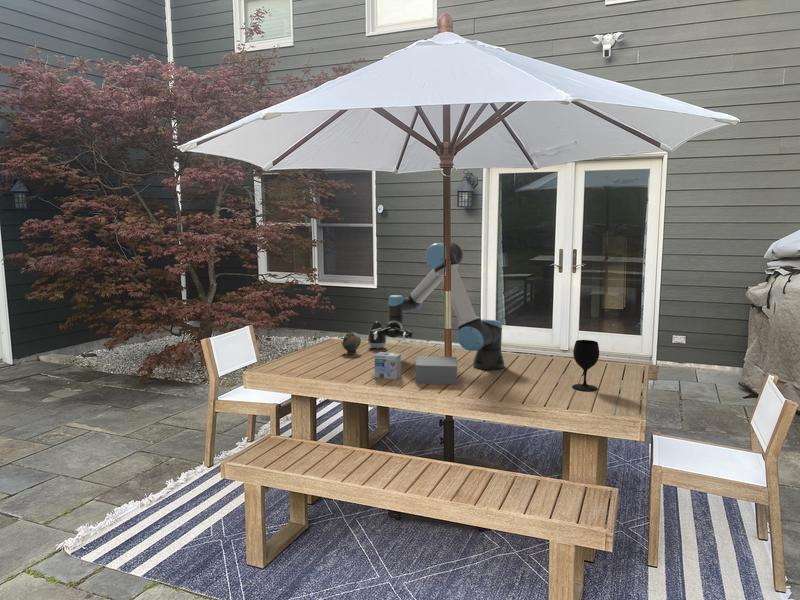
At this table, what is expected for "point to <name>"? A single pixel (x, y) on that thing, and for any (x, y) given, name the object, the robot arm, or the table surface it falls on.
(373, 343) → the black tapered dome
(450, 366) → the grey block
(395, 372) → the light bulb box
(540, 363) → the table surface
